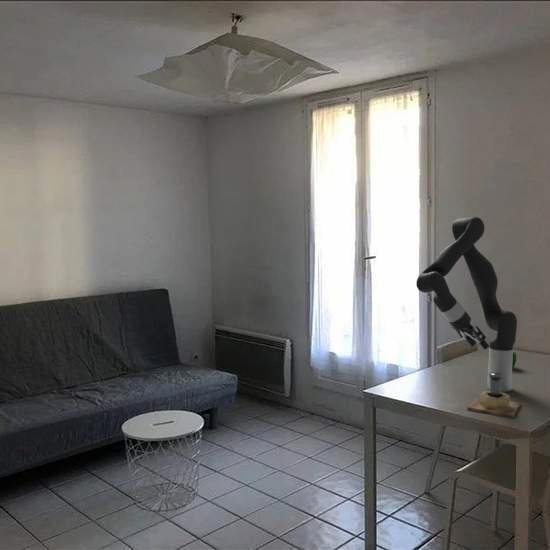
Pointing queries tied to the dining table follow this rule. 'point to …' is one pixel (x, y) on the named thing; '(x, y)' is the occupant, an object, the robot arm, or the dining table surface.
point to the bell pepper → (513, 360)
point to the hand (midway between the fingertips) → (480, 346)
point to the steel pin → (495, 384)
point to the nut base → (493, 411)
